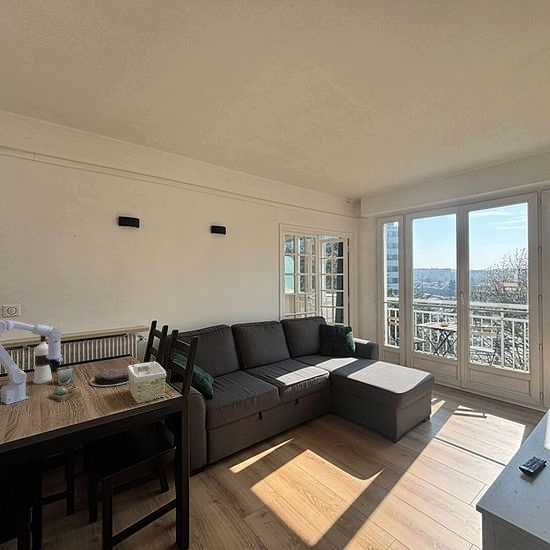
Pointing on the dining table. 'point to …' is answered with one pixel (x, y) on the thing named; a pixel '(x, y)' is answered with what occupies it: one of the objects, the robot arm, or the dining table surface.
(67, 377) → the ceramic mug
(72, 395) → the cradle
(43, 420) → the dining table surface
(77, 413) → the dining table surface
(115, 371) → the chocolate cake
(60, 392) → the bottle
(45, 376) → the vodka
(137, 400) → the storage basket
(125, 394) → the dining table surface
